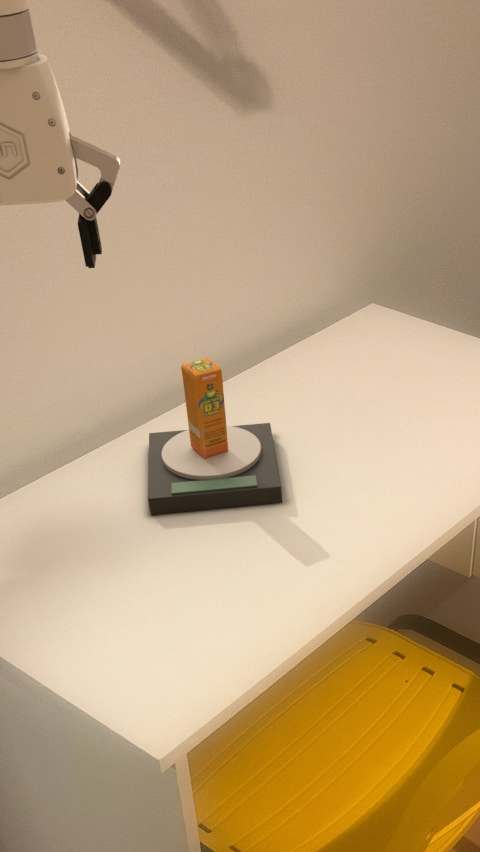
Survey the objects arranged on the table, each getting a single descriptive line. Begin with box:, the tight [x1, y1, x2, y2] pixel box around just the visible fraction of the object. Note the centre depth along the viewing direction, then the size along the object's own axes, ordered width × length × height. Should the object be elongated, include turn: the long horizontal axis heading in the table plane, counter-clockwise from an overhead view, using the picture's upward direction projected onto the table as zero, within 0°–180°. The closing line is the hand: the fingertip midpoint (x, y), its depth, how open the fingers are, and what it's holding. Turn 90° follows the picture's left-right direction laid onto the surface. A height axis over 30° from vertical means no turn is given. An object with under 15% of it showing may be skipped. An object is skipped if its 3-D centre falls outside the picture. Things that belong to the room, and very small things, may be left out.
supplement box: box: [180, 357, 228, 458], centre depth 103 cm, size 3×3×10 cm
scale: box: [147, 422, 283, 516], centre depth 107 cm, size 14×14×3 cm
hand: (35, 266), depth 84 cm, fingers open, 9 cm apart
